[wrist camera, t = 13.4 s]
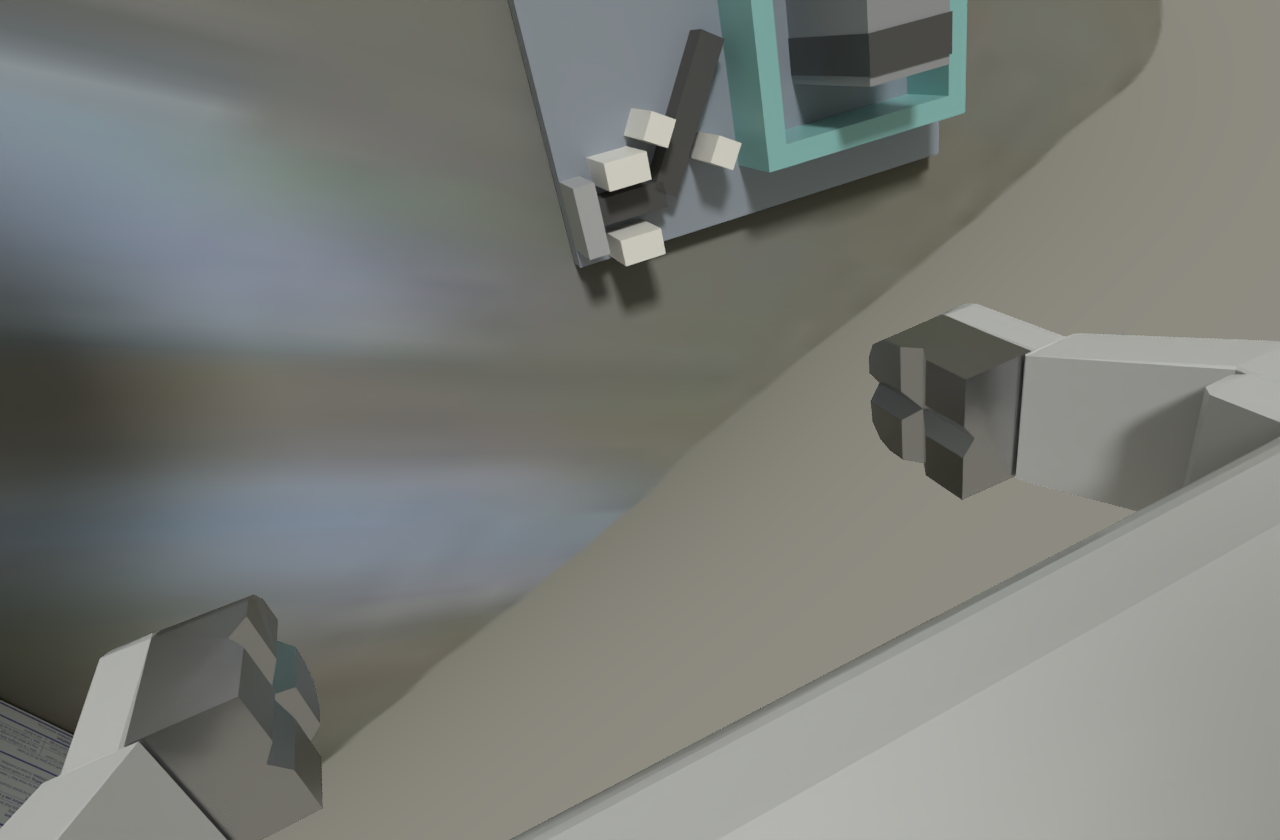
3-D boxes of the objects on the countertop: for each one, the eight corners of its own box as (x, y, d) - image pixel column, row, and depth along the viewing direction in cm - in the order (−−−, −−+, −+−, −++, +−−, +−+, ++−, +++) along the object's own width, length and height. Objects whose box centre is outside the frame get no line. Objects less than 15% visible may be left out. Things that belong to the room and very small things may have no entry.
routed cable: (565, 214, 34) (572, 219, 33) (694, 21, 33) (706, 19, 32) (622, 257, 36) (631, 262, 35) (747, 75, 35) (760, 76, 33)
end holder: (700, -132, 30) (734, -151, 28) (921, -175, 33) (970, -196, 30) (738, 165, 36) (769, 172, 34) (923, 109, 39) (965, 112, 36)
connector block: (778, -62, 32) (863, -86, 27) (857, -80, 33) (953, -106, 28) (791, 84, 35) (870, 87, 30) (863, 64, 36) (952, 63, 31)
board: (482, -102, 29) (499, -121, 26) (924, -186, 34) (981, -211, 31) (574, 263, 36) (596, 280, 33) (926, 151, 41) (972, 158, 38)
